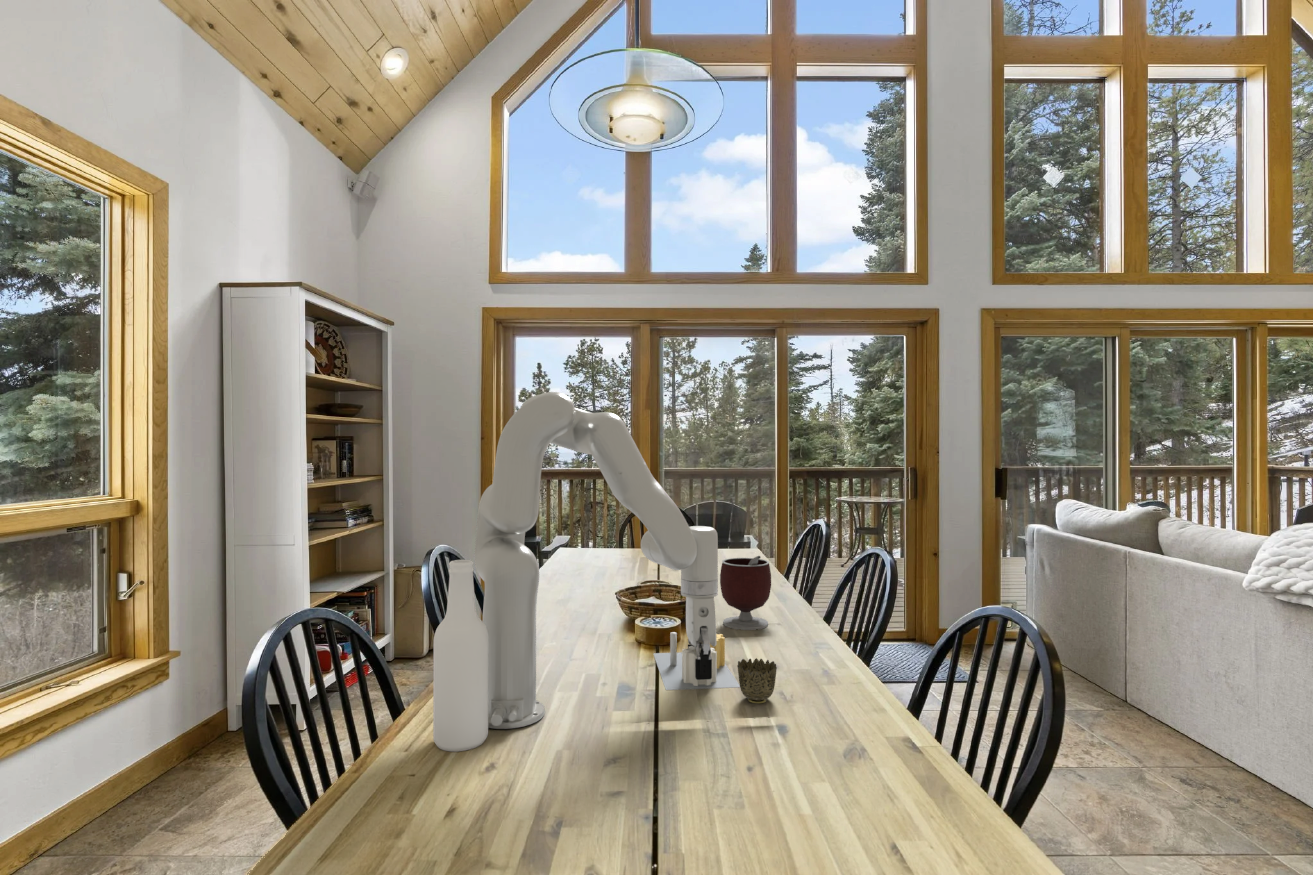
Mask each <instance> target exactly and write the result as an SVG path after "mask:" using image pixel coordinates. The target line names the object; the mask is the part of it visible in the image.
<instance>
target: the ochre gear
mask: <svg viewBox="0 0 1313 875" xmlns="http://www.w3.org/2000/svg"><path fill="white" fill-rule="evenodd" d="M716 641H717V644H716V646H715V647H713V646H712V645H711V644H710V648H714V649H715V651H717V669H718V668H719V666H724V665H725V664H726V637H724V634H722V633H719V634H718V633H716Z"/></svg>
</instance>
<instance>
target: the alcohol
mask: <svg viewBox="0 0 1313 875" xmlns="http://www.w3.org/2000/svg"><path fill="white" fill-rule="evenodd" d="M474 565H475V561H473V560H472V559H455V560H451V561H450V562H448V566H449V569H448V573H449V580H448V593H447V605H446V612H445V616H444V618H443V620H442V621H441V622H440V623H439V625H438V626H437V628H436V630H435V633H434V637H433V688H432V689H433V699H432V700H433V703H432V704H433V714H432V715H433V718H432V721H433V735H432V736H433V738H432V740H433V742H434V743H435V745H436V747H437V748H438V749H440V750H442V751H445V752H456V753H457V752H465V751H469V750H473V749H475V748H479V747H481V745H482V744H483V743H484V742H485V741H486V739H487V738H488V735H489V728H488V632H487V628H486V626H485V624H484V623H483V619H481V618H480V617H479V615H478V613H477V610H476V598H475V596H476V594H475V584H474Z"/></svg>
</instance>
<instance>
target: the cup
mask: <svg viewBox="0 0 1313 875" xmlns="http://www.w3.org/2000/svg"><path fill="white" fill-rule="evenodd" d="M736 666H737V673H738V674H737V675H738V676H737V677H738V683H739V685H740V687H739V688H740V690H741V693H742V694H743V696H744V697H745V698H747V701H748V702H750V703H752V704H763V703H766V702H767V699H769V698H770V697H771V696H772V695H773V693H774V690H775V686H776V679H777V663H775V661H774V660H772V661H771V662H770V661H769V659H767V660H766V661H764V660H763V659H762V658H760V659H758V658H757V657H756V658H754V660H753V661H752V659H751V658H749V659H748V660H746V659H744V658H742V659H741V661H740V660H738V661H737V665H736Z"/></svg>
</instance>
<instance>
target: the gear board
mask: <svg viewBox="0 0 1313 875" xmlns="http://www.w3.org/2000/svg"><path fill="white" fill-rule="evenodd" d="M669 635H670V636H669V639H670V641H669V642H670V643H669V646H670V647H669V650H670V651H669V652H655V653H653V657H654V659H655V663H656V666H657V668H658V671H659V674H660V677H661V680H662V683H663V686H664V688H665V691H678V690H679V691H680V690H682V691H683V690H702V689H703V690H706V689H729V688H731V689H732V688H734V689H735V688H740V684H739V681H738V680H737V678H736V677H735V676H734V674H733V673H732V671H731V670H730V669H729V667H728V664H726V663H725V665H724V666H719V668H718V669H717V681H716V682H711V685H705V684H702V685H698V686H694V685H693V684H692V683H684V679H682V651H681V652H677V650H678V649H677V648H678V647H677V645H678V644H677V643H678V641H677V638H678V636H677V635H678V633H677V632H675V631H672V632H670V634H669Z"/></svg>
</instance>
